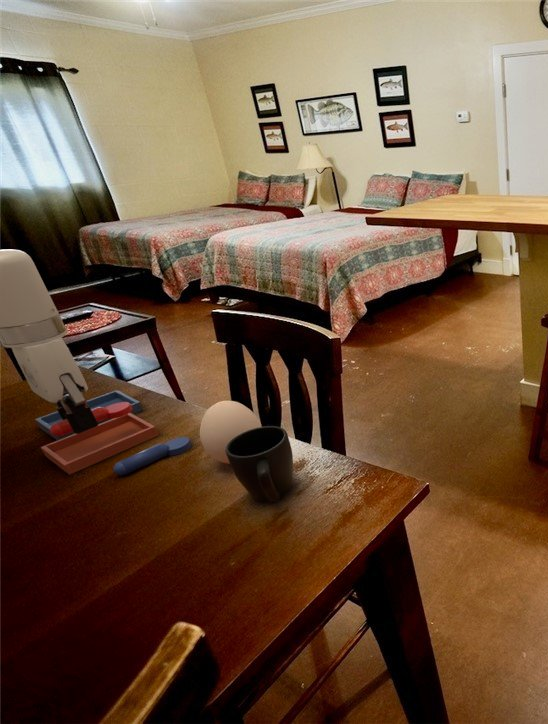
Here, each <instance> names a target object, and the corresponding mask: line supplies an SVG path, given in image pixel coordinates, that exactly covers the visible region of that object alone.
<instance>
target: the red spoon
mask: <svg viewBox="0 0 548 724" xmlns="http://www.w3.org/2000/svg"><path fill="white" fill-rule="evenodd" d="M91 411H92V413H93V415H94V417H95V419H96V421H97V422H99V421H102V420H104V419H106V418H107V419H114V418H118V417H122V416H124V415H127V414H128V413H130V412H131V411H132V407H131V405H130V403H128V402H121V403H116V404H113V405H110V406H108V407H106V408H104V407H97V408H95V409H92V410H91ZM71 432H74V431H73V429H72V428H71V426H70V424H69V422H68V420H67V419H65V420H63V421H60V422H57V423H55V424H53V425H52V426H51V427H50V433H51V434H52V435H54V436H64V435H66V434H69V433H71Z"/></svg>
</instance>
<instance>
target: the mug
mask: <svg viewBox="0 0 548 724" xmlns="http://www.w3.org/2000/svg"><path fill="white" fill-rule="evenodd" d="M225 451H226V454H227V457H228V460H229V463H228V464H229V465H230V468H231V471H232V472H233V474H234V476H235V477H236V479H237V480H238V482H239V483H240V484H241V486H242V487H243V488H244V489H245V490H246V491H247V492H248V493H249V494H250V495H251V497H252V499H254V500H255V501H256V502H260V503H268V502H272V503H274V502H277V501H278V500H279V499H280V498H282V497H284V496H285V495H287V494H288V493H289V492H290V491H291V488H292V487H293V474H294V455H293V449H292V445H291V442H290V438H289V434H288V432H287V430H286V429H285V428H283V427H281V426H276V425H266V426H265V425H264V426H261V427H259V428H255V429H251V430H248V431H246V432H243V433H241V434H240V435H238V436H236V437H235V438H233V439H232V440H231V441H230V442H229V443H228V444H227V446H226V450H225Z"/></svg>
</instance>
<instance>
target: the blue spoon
mask: <svg viewBox="0 0 548 724" xmlns="http://www.w3.org/2000/svg"><path fill="white" fill-rule="evenodd" d="M191 448H192V442H191V439H190V438H189V437H187V436H180V437H175V438H172V439H170V440H168V441H166V442H165V443H157V444H154V445H153V446H150V447H148V448H146V449H144V450H142V451H140V452H137V453H135V454H133V455H131V456H129V457H127V458H125V459H122V460H120V461H118V462H116V463H115V464H114V465H113V469H112V470H113V473H114V474H115V475H117V476H120V477H121V476H126V475H128V474H132V473H133V472H135V471H137V470H139V469H141V468H143V467H145V466H147V465H149V464H151V463H154V462H155V461H158V460H160V459H162V458H164V457H166V456H177V455H181V454H183V453H185V452H187V451H188V450H189V449H191Z"/></svg>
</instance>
